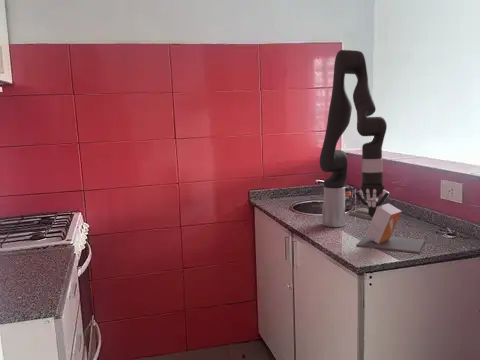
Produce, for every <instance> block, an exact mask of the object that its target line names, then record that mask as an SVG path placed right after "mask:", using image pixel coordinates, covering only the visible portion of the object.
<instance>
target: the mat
mask: <svg viewBox="0 0 480 360" xmlns="http://www.w3.org/2000/svg"><path fill="white" fill-rule="evenodd" d="M425 242H426V239H422V238H419V239H418V238H412V237H411V238H410V237H403V236H402V237H400V236H391V237H390V239H389V240H387V241H384V242H382V243H380V244H378V243H376V242H375V241H373V240H371V239H370V238H368V237H367V236H366V234H365V235H364V236H363V237H362V238H361V239H360V240H359V241H358V243H356V247H359V248H370V249H377V250H378V249H379V250H385V251H386V250H388V251H396V252H405V253H412V254H414V253H415V254H420V252H421V250H422V249H423V246H424V244H425Z"/></svg>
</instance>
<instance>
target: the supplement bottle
mask: <svg viewBox="0 0 480 360" xmlns="http://www.w3.org/2000/svg"><path fill="white" fill-rule="evenodd" d="M351 209H352V192H351V190H350V186H345V211H347V210H351Z"/></svg>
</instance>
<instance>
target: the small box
mask: <svg viewBox="0 0 480 360" xmlns="http://www.w3.org/2000/svg"><path fill="white" fill-rule="evenodd" d="M402 212H403V211H402V210H401V209H399V208H397V207H395V206H393V204H391V203H389V202H388V203H385V204H381V205H380V206H377V209H376V211H375V214H374V216H373V218H372V220H370V221H371V222H370V223H369V225H368V228H367V230H366V233H365V235H366V236H367V237H368V238H370V239H371V240H373V241H375V242H376V243H378V244H380V243H382V242H384V241H387V240H389V239H390V237H392V235H393V232H394V231H395V228H396V225H397V224H398V221H399V219H400V217H401V215H402Z"/></svg>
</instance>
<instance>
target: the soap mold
mask: <svg viewBox="0 0 480 360" xmlns="http://www.w3.org/2000/svg"><path fill="white" fill-rule="evenodd" d="M348 214H349V216H352V217H357V218H361V219H364V220H369V221H372V218H373V217H370V215H369V214H368V208H365V207H360V208H357V209H356V210H352V211H349V213H348Z"/></svg>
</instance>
